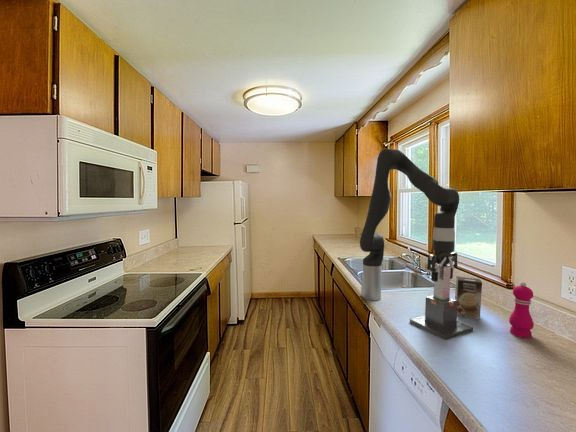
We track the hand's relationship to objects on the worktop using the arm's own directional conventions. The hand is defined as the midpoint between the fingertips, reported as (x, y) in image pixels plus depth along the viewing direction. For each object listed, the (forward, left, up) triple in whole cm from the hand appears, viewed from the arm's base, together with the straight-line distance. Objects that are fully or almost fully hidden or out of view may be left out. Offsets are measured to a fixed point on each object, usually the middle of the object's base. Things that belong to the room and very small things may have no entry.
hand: (442, 279), depth 114 cm
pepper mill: (+17, +22, -19) cm, 34 cm away
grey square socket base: (0, 0, -19) cm, 19 cm away
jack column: (0, 0, -12) cm, 12 cm away
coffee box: (-3, +21, -19) cm, 29 cm away
